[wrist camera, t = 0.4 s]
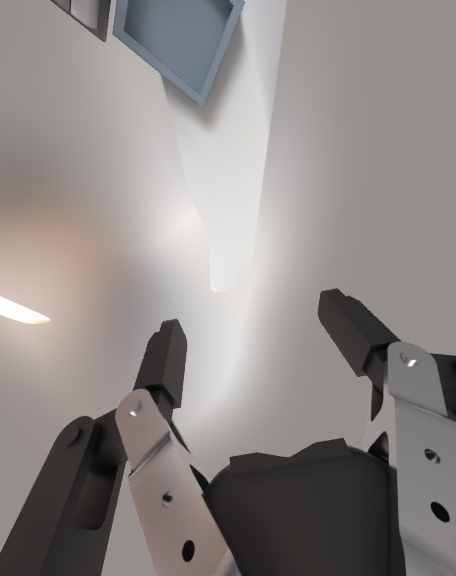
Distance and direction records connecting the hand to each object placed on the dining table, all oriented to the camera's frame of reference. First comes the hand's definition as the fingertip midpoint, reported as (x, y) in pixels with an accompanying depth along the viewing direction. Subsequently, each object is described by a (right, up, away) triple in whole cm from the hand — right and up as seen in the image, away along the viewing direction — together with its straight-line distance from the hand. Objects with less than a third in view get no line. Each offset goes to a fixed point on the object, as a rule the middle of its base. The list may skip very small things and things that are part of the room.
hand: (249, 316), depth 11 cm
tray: (-6, +30, +9) cm, 32 cm away
